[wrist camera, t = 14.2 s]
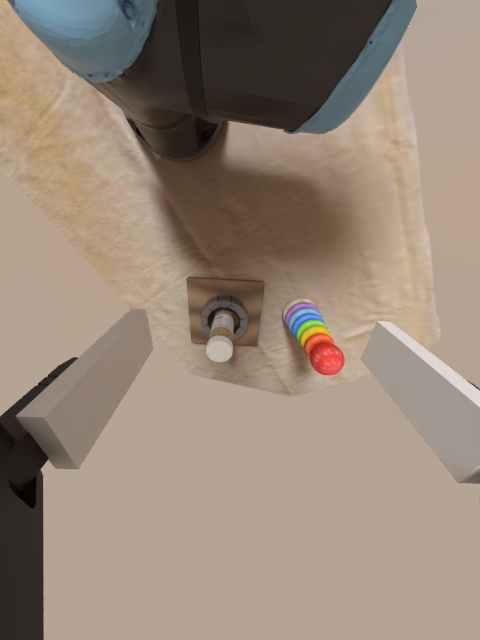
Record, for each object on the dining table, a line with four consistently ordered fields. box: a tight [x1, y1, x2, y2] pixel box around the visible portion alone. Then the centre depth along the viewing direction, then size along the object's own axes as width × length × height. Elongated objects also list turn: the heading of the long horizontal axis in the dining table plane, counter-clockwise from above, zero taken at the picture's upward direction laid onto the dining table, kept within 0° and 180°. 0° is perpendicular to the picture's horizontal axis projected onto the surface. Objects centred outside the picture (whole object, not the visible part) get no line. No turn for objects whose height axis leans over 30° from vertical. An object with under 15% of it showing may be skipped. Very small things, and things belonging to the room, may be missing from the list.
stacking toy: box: [282, 298, 344, 375], centre depth 38 cm, size 8×8×19 cm
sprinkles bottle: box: [206, 307, 235, 362], centre depth 40 cm, size 5×5×14 cm
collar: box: [200, 295, 248, 340], centre depth 44 cm, size 10×10×3 cm
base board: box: [187, 277, 264, 346], centre depth 46 cm, size 16×16×2 cm
